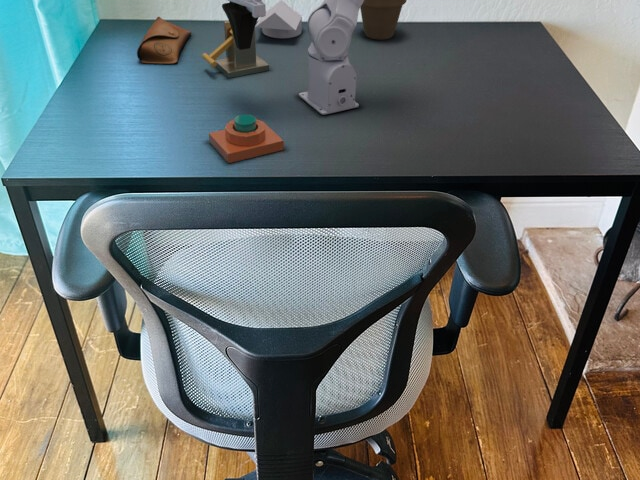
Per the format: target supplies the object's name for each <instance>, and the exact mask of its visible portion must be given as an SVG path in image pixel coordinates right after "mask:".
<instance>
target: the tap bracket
mask: <svg viewBox="0 0 640 480" xmlns="http://www.w3.org/2000/svg"><path fill="white" fill-rule="evenodd" d="M223 27H224V28H223V29H224V42H225V41H226V40H227V39H228V38H229V37H230V36H232V35H231V33H230V32H229V31H230V30H231V25H230V22H229V20H225V21H224V20H223ZM232 33H233V32H232ZM256 44H257V43H256V27H255V28H254V32H253V37H252V42H251V47H250V48H249V49H243V50H239V49H238V48H237V46H236V43H235V40H234V36H233V44H232V45H231V46H230V47H229V48H228V49H227V50H226V51H225V55H226V56H225V57H224V58H219V59H218V58H217V59H215V60H214V61H215V62H216V63H217V65H216V66H215V67H216V69H217V70H219V71H220V73H222V74H223V75H224V77H226V78H228V79H233V78H237V77H243V76H247V75H252V74H257V73H258V74H259V73H263V72H269V71H270V64H269V63H267V62H266V61H265V60H264V59H263V58H261V57H260V56H259V55H258V54H257V49H256V48H257V47H256Z"/></svg>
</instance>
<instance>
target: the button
mask: <svg viewBox="0 0 640 480" xmlns="http://www.w3.org/2000/svg"><path fill="white" fill-rule="evenodd" d="M256 119H257V118H256V116H254V115H252V114H245V113H244V114H238V115H236V116H235V117H234V118H233V120H234V129H235V131H237V132H240V133H249V132H253V131H255V130H256Z"/></svg>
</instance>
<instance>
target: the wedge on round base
mask: <svg viewBox="0 0 640 480" xmlns="http://www.w3.org/2000/svg"><path fill="white" fill-rule="evenodd" d="M302 19H303V16H302V14H301V13H300V12H298V11H296V10H294V9H293V8H292V7H290V6H289V5H288V4H287V3H286V2H285V1H283V0H280V1H278V2H277V3H276V4H274V5H273V6H272V7H270V8H268V9H267V10H266V16H265V17H259V18H258V20H257V22H256V25H255V28H259V29H262V33H263V35H265V36H267V37H269V38H275V39H291V38H295V37H298V36H300V35H301V34H302V31H303V29H302V26H303V24H302Z"/></svg>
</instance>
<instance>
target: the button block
mask: <svg viewBox="0 0 640 480" xmlns="http://www.w3.org/2000/svg"><path fill="white" fill-rule="evenodd" d="M224 127H225V128H224V129H222V130H216V131H212V132H208V139H209V143H210V145H211V146H212V147H213V148H214V149H215V150H216V151H217V152H218V153H219V154H220V156H222V158H223V159H224V160H225V161H226V162H227V164H232V163H236V162H241V161H244V160H248V159H252V158H255V157H259V156H260V157H261V156H264V155H269V154H273V153H275V152H276V153H277V152H280V151H284V149H285V147H284V139H282V137H280V136H279V135H278V134H277V133H276V132H275V131H274V130H273V129H272V128H271V127H269V125H267V124H266V122H264V121H263V120H260V119H257V118H256V130H255V131H253V132H249V133H240V132H237V131H235V129H234V119H232V120H230V121H228V122H227V123H226V124H225V126H224Z"/></svg>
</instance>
